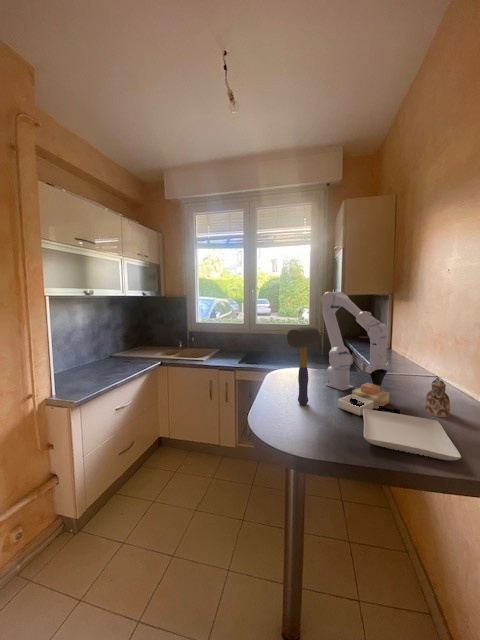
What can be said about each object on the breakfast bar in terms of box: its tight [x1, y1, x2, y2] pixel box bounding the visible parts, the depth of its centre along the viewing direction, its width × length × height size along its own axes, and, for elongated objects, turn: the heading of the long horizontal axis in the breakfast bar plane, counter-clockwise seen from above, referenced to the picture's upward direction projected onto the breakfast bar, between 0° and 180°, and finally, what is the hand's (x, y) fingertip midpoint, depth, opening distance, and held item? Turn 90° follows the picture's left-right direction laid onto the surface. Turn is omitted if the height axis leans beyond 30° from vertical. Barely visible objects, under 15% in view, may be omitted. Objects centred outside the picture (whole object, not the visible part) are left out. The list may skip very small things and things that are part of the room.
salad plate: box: [362, 409, 462, 461], centre depth 74 cm, size 21×21×3 cm
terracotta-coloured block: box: [360, 382, 381, 395], centre depth 100 cm, size 5×5×2 cm
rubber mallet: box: [286, 326, 321, 406], centre depth 98 cm, size 12×8×30 cm, turn 128°
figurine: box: [423, 377, 451, 418], centre depth 90 cm, size 7×7×12 cm
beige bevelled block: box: [351, 386, 390, 409], centre depth 101 cm, size 10×9×4 cm
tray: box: [336, 393, 374, 417], centre depth 95 cm, size 9×9×3 cm
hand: (376, 387), depth 103 cm, fingers closed
